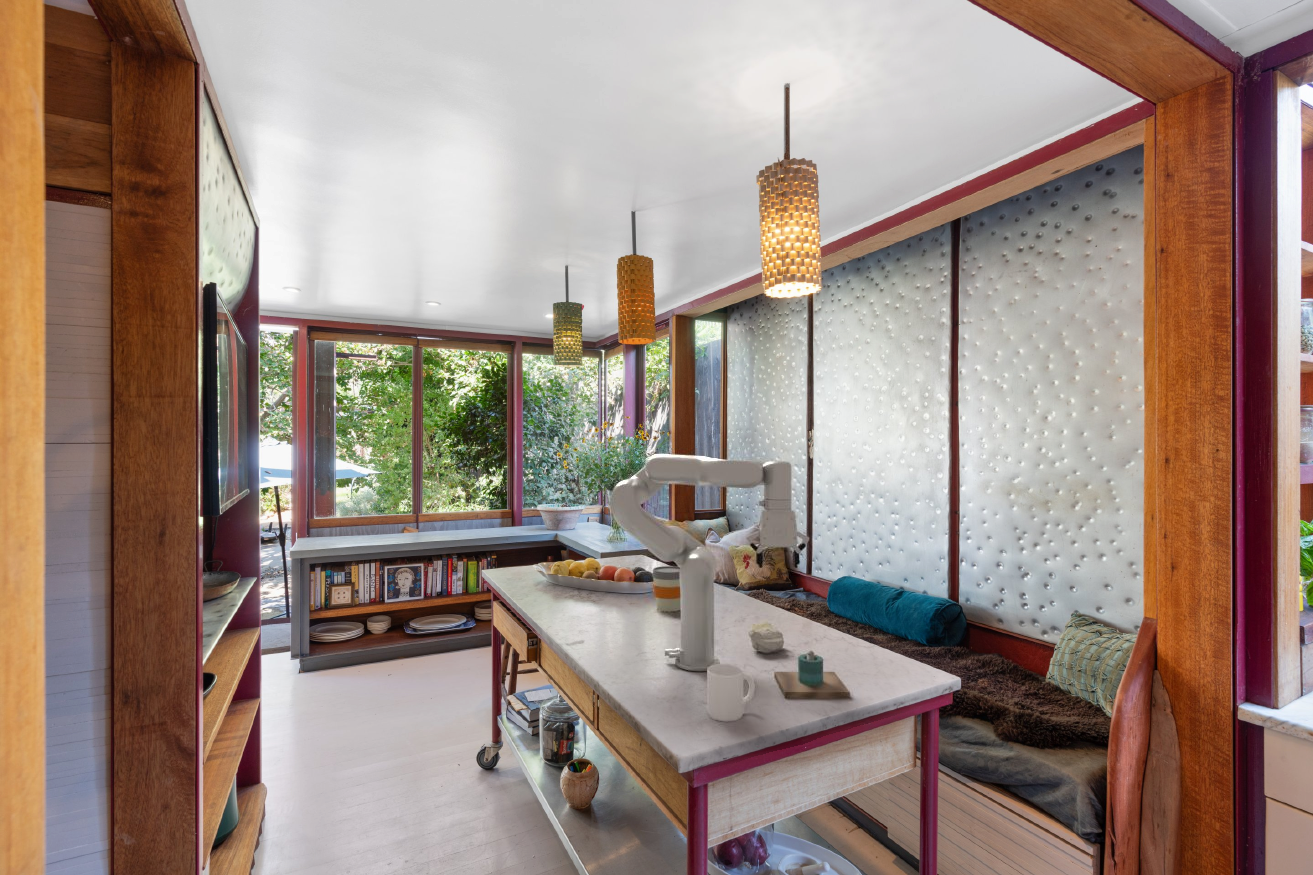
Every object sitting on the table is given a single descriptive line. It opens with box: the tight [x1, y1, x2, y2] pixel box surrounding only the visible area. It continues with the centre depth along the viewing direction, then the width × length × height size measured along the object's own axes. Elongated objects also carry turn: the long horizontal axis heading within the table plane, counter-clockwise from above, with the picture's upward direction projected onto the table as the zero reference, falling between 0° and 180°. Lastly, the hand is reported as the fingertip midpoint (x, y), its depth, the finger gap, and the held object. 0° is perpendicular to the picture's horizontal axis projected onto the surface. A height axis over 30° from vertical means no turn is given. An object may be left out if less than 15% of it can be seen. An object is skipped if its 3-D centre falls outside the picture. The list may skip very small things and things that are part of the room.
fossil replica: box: [747, 621, 785, 654], centre depth 192 cm, size 12×8×10 cm
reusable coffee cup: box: [651, 565, 681, 613], centre depth 241 cm, size 12×13×15 cm
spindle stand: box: [773, 650, 851, 699], centre depth 163 cm, size 16×14×9 cm
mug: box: [706, 663, 756, 723], centre depth 147 cm, size 12×8×10 cm
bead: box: [797, 653, 824, 686], centre depth 163 cm, size 6×6×6 cm
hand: (777, 567), depth 176 cm, fingers open, 9 cm apart
